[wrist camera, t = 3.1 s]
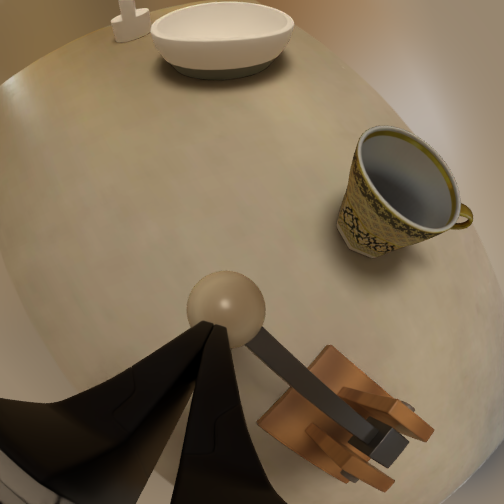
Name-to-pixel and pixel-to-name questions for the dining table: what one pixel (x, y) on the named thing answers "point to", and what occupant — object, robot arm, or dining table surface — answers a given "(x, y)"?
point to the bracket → (332, 434)
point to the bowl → (222, 39)
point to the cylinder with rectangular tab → (130, 22)
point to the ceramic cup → (397, 194)
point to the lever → (284, 358)
